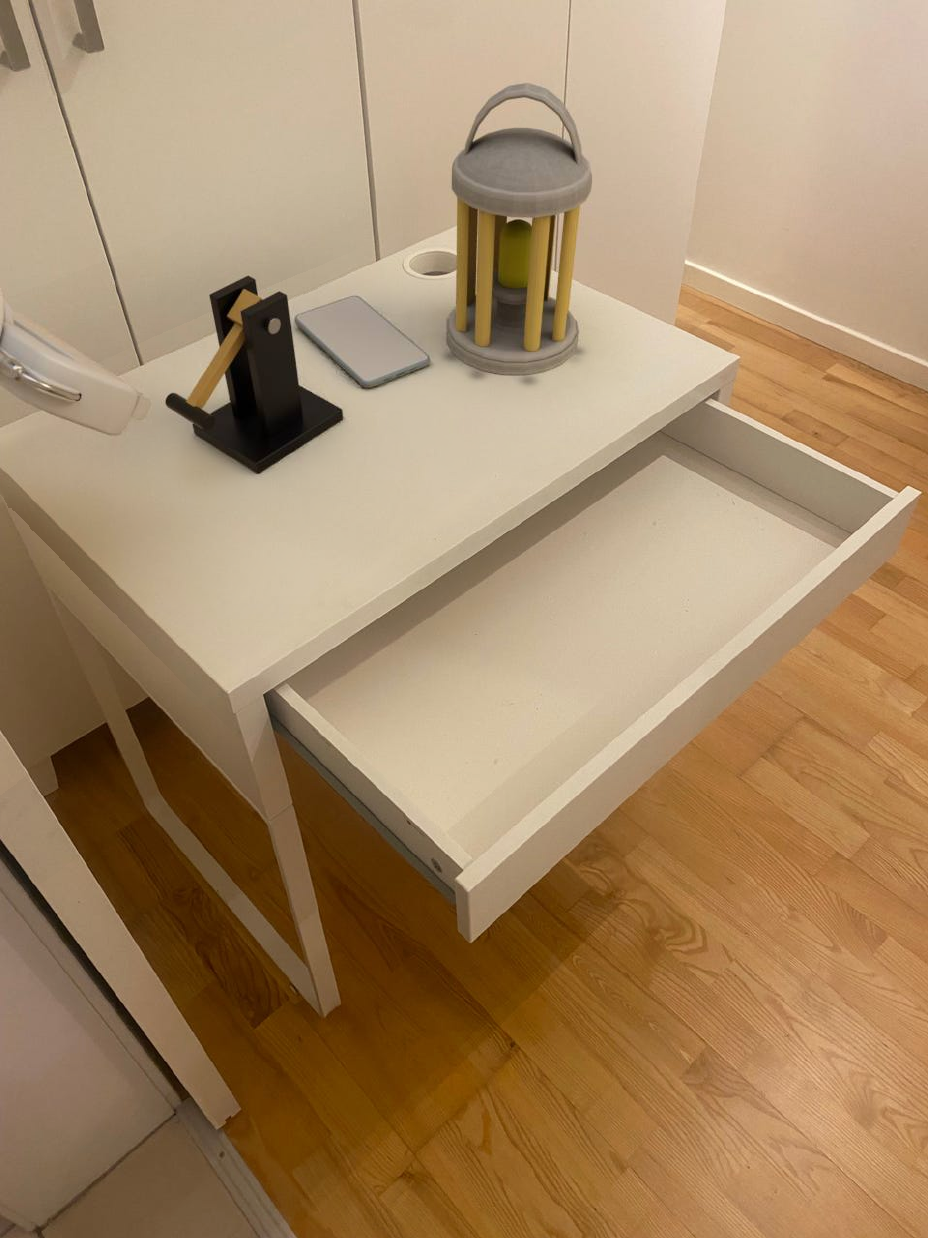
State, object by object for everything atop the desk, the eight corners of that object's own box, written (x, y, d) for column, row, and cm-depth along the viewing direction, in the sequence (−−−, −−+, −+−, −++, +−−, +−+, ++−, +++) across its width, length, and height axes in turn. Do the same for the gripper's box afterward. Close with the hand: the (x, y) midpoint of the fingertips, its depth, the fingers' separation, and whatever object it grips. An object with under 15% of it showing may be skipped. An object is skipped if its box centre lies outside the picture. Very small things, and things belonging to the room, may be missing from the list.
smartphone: (365, 384, 95) (290, 315, 103) (365, 392, 96) (291, 323, 104) (434, 357, 99) (357, 292, 106) (434, 366, 99) (357, 300, 107)
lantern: (435, 367, 99) (433, 110, 80) (457, 296, 108) (460, 52, 90) (572, 381, 98) (602, 123, 79) (582, 309, 107) (611, 63, 88)
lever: (212, 435, 83) (195, 424, 81) (176, 412, 85) (158, 401, 83) (286, 317, 83) (271, 302, 81) (248, 296, 85) (232, 282, 83)
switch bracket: (258, 474, 87) (233, 340, 77) (194, 433, 91) (162, 301, 81) (343, 419, 93) (331, 287, 83) (280, 383, 97) (261, 253, 86)
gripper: (47, 332, 57) (209, 398, 69) (-123, 222, 65) (47, 298, 78) (5, 428, 58) (171, 476, 70) (-157, 307, 66) (17, 369, 79)
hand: (105, 382), depth 74 cm, fingers open, 8 cm apart
